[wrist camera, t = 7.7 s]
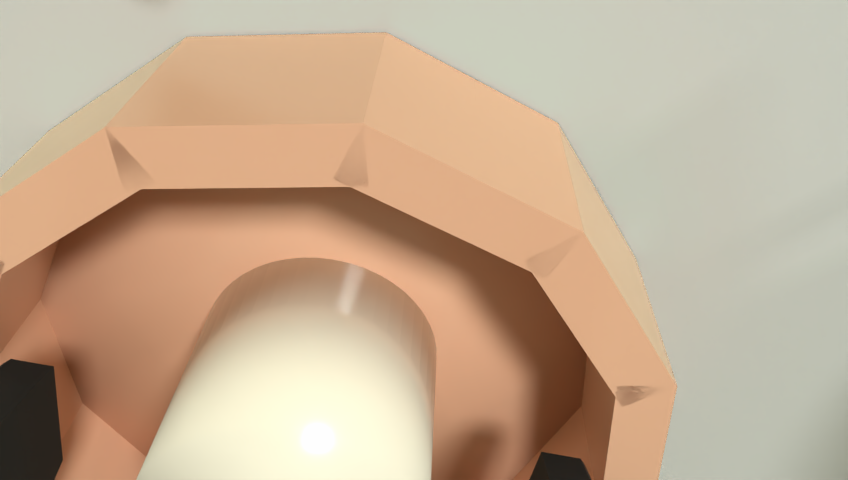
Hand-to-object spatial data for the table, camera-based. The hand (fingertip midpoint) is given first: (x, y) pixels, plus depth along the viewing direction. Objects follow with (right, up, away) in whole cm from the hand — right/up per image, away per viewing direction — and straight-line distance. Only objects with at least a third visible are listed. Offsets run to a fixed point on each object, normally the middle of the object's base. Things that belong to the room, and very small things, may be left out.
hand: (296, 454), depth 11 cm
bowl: (0, +2, +2) cm, 3 cm away
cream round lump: (0, +1, +2) cm, 2 cm away
